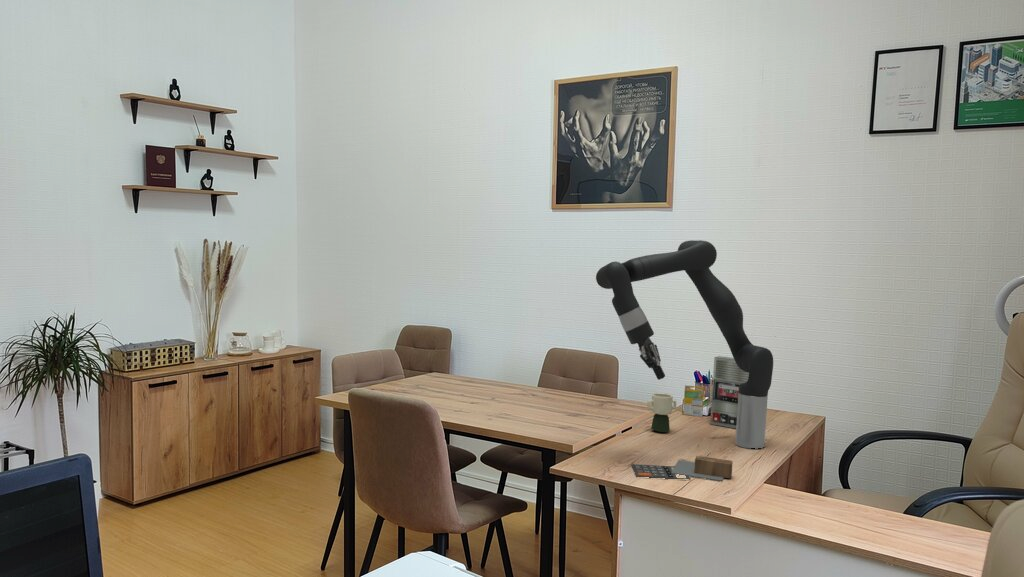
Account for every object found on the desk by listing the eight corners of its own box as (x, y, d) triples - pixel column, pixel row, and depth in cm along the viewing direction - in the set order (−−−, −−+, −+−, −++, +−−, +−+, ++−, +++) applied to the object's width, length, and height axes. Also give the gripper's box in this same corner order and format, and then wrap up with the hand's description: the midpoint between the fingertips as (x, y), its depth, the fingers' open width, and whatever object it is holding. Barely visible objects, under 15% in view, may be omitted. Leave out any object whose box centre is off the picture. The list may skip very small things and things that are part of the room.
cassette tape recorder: (709, 424, 268) (713, 357, 267) (714, 421, 273) (718, 356, 272) (746, 431, 260) (751, 362, 259) (751, 428, 265) (756, 360, 264)
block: (696, 455, 209) (732, 460, 206) (695, 469, 210) (731, 474, 206) (695, 459, 206) (731, 464, 202) (694, 472, 206) (730, 478, 202)
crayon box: (702, 415, 284) (704, 385, 283) (702, 416, 281) (704, 387, 280) (683, 413, 285) (684, 384, 285) (683, 414, 283) (684, 385, 282)
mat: (678, 461, 218) (678, 460, 218) (726, 468, 213) (726, 466, 213) (671, 474, 205) (671, 472, 205) (722, 481, 200) (722, 480, 200)
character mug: (670, 428, 259) (672, 392, 258) (679, 434, 252) (681, 397, 251) (641, 429, 256) (643, 392, 255) (650, 434, 249) (652, 397, 248)
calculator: (631, 463, 212) (682, 466, 212) (631, 466, 212) (682, 469, 212) (636, 475, 201) (691, 478, 200) (636, 479, 201) (691, 482, 200)
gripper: (642, 323, 207) (669, 378, 206) (651, 316, 220) (677, 368, 218) (619, 334, 210) (645, 388, 209) (630, 326, 223) (655, 377, 221)
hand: (661, 378), depth 214 cm, fingers closed
